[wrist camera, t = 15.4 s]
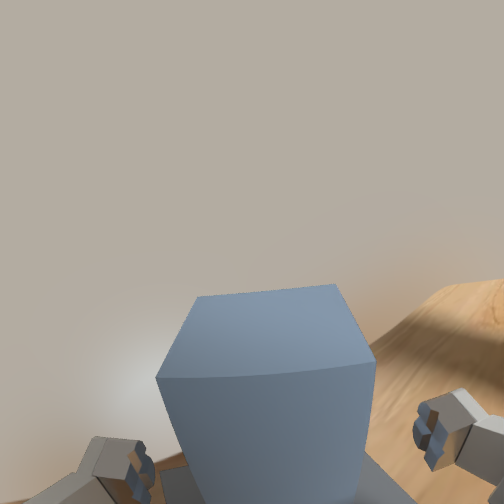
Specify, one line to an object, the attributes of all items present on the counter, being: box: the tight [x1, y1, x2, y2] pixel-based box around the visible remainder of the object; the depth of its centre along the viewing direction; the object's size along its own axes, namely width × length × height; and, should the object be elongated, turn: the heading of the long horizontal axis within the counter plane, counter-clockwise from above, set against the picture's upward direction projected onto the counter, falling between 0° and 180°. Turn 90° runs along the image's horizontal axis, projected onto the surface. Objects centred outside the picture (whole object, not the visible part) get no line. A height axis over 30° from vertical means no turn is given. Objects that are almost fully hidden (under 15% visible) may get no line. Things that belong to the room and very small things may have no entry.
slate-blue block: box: [156, 284, 377, 504], centre depth 10 cm, size 5×5×12 cm
